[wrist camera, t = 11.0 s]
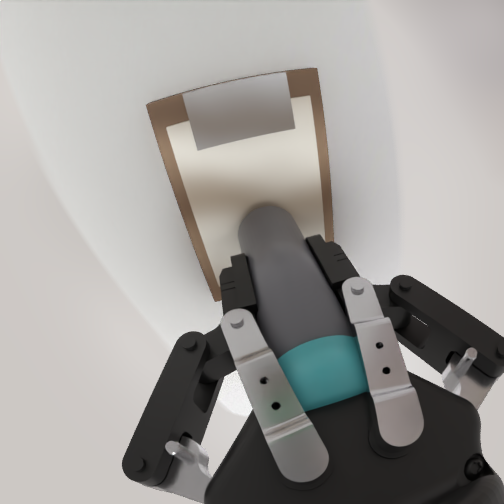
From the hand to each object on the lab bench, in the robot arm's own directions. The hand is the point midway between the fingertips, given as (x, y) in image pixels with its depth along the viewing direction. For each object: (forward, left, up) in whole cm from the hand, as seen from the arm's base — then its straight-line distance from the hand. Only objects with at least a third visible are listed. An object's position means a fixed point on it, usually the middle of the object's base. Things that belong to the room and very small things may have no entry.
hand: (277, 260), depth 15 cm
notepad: (-2, 0, -5) cm, 5 cm away
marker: (0, 0, -3) cm, 3 cm away
